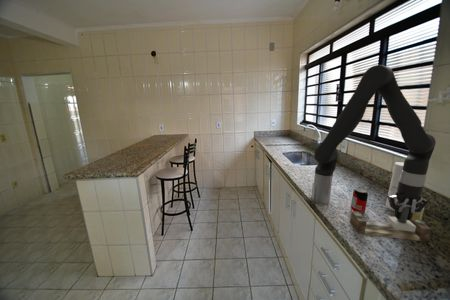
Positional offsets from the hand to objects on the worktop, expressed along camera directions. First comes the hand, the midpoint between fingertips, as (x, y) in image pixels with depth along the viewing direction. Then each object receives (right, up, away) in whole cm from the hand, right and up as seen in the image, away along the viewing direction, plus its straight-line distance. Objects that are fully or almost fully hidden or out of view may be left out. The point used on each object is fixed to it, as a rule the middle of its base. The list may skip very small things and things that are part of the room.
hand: (402, 218), depth 82 cm
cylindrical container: (+15, -2, +21) cm, 26 cm away
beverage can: (-6, -3, +19) cm, 20 cm away
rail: (-5, -7, +3) cm, 9 cm away
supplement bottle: (+15, -5, +10) cm, 18 cm away
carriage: (0, -4, +1) cm, 4 cm away
